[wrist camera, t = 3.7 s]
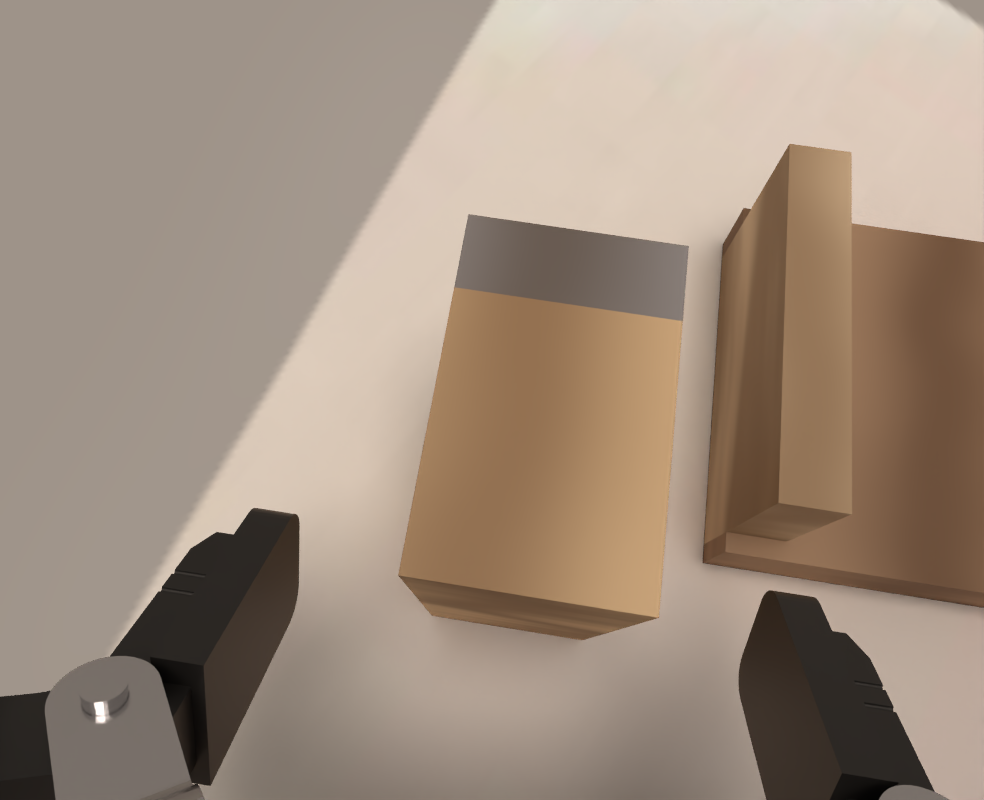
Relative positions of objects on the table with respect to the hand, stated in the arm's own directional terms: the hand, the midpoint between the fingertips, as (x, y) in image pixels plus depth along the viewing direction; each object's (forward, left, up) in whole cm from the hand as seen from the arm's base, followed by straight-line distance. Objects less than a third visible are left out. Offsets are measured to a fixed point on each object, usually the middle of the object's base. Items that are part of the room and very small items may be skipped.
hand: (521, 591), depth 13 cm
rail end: (0, -2, -7) cm, 8 cm away
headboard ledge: (-11, -7, -7) cm, 15 cm away
